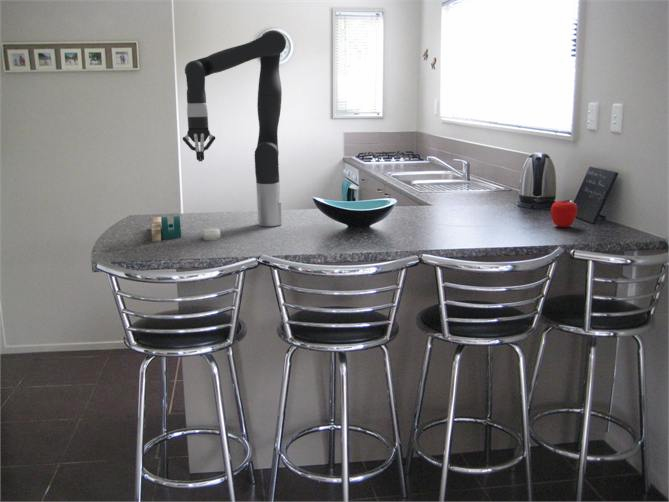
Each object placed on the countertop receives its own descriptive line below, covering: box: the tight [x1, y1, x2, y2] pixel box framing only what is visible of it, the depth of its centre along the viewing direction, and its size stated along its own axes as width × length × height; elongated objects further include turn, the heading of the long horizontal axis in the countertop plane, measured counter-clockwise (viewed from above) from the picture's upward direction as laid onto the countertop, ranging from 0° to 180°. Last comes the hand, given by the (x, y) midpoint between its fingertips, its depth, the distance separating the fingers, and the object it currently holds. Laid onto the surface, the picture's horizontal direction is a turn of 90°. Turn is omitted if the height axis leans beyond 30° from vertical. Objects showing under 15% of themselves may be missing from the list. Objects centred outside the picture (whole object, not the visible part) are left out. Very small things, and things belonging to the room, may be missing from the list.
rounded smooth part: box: [202, 227, 221, 241], centre depth 248 cm, size 6×6×4 cm
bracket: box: [160, 215, 182, 240], centre depth 257 cm, size 18×7×8 cm, turn 15°
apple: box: [550, 199, 579, 228], centre depth 258 cm, size 10×10×11 cm
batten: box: [151, 216, 163, 243], centre depth 255 cm, size 3×24×5 cm, turn 13°
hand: (200, 161), depth 257 cm, fingers closed
